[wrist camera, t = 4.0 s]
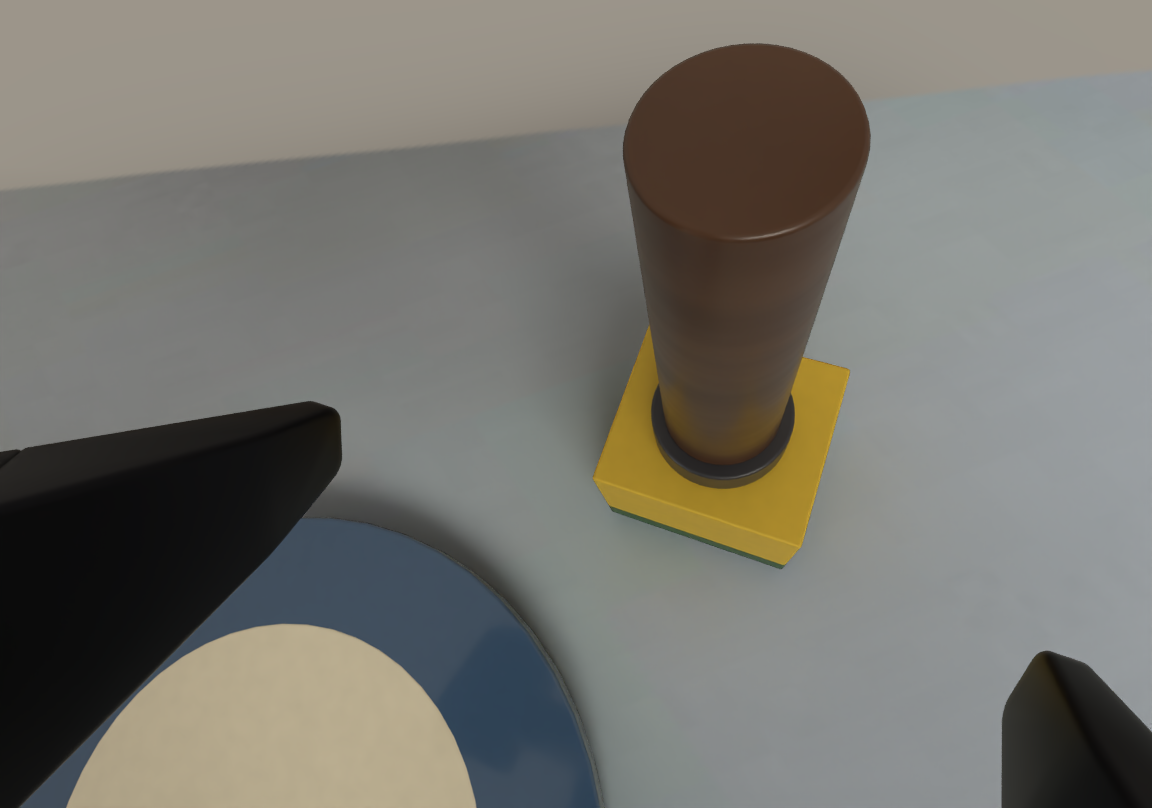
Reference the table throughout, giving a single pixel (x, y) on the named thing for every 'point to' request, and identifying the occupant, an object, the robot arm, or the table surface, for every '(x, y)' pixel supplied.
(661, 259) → the sponge wand
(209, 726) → the plate
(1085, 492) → the table surface
